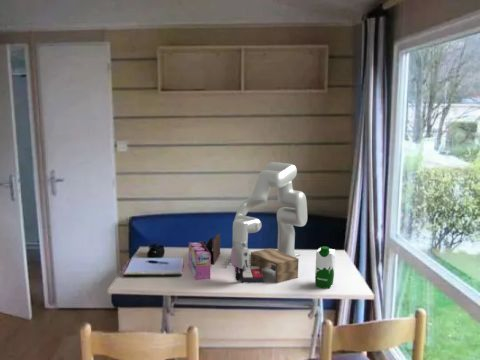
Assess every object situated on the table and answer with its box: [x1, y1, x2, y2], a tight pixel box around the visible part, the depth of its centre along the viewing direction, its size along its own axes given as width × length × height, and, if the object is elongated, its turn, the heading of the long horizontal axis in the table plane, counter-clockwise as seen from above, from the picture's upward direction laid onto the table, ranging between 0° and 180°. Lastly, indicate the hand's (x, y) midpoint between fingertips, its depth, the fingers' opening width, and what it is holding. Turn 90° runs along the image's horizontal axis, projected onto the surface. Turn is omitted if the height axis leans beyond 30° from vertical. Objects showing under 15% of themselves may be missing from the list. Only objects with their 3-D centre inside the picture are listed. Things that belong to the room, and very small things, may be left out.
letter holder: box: [202, 233, 221, 266], centre depth 267 cm, size 10×20×14 cm, turn 172°
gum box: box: [188, 241, 212, 281], centre depth 246 cm, size 24×8×14 cm, turn 16°
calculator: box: [241, 265, 265, 284], centre depth 240 cm, size 11×4×15 cm
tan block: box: [250, 247, 299, 284], centre depth 244 cm, size 14×22×10 cm, turn 36°
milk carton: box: [314, 245, 336, 290], centre depth 229 cm, size 9×9×20 cm
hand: (239, 279), depth 232 cm, fingers closed
